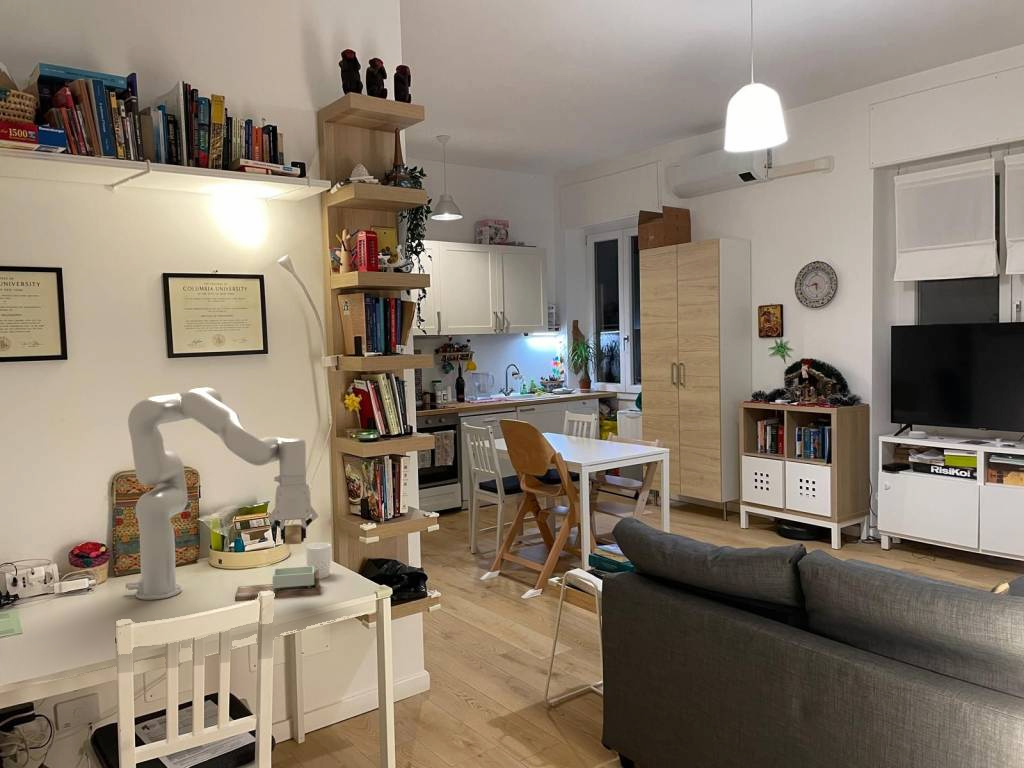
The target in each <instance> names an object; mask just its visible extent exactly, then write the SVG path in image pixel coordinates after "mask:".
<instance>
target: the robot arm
mask: <svg viewBox="0 0 1024 768" xmlns="http://www.w3.org/2000/svg"><path fill="white" fill-rule="evenodd" d="M189 419H190V420H191V419H193V420H194V421H195V422H197V423H199V424H200V425H202V426H203V427H205V428H207V429H208V430H210V431H211V432H212V433H214V434H215V435H217V436H218V437H219V438H220V439H221V442H222V443H223V444H224V446H225V447H226V448H228V450H229V451H230V452H231V453H233V454H234V455H236V456H238V457H239V458H241V460H244V461H245V462H247V463H248V464H251V465H253V466H257V467H261V466H262V467H263V466H266V465H267V464H269V463H275V462H278V461H279V463H278V465H279V475H278V476H274V482H277V483H279V484H278V485H276V489H275V497H274V498H275V499H274V509H273V510H272V512H271V513H270V514H269V515H268V517H267V519H268V521H270V522H271V523H273V524H274V525H275V526H276V527H277V528H279V530H280V540H282V543H283V544H285V526H286V524H285V523H286V521H291V520H293V521H295V520H300V524H301V523H302V527H301V543H304V540H305V539H307V527H308V526H309V525H310V524H311V523H312V522H313V521H315V520H316V519H318V517H319V514H318V513H317V512H316V510H315V509H314V508H313V507H312V501H311V493H310V490H311V489H310V486H309V483H307V458H306V457H307V456H306V455H307V454H306V453H307V447H306V446H307V444H306V440H304V439H303V438H300V437H290V438H289V437H288V438H282V437H278V436H266V437H262V438H257V437H255V436H254V435H253V434H251V433H250V432H248V431H247V430H246V429H244V428H243V427H242V425H241V424H240V422H239V414H238V412H237V411H235V410H233V409H232V408H230V407H229V406H228V405H226V404H224V403H223V398H222V396H221V394H220V393H219V392H218V391H217V390H216V389H214V388H211V387H200V388H199V387H198V388H192V389H189V390H187V391H183V392H177V393H171V394H161V395H159V394H158V395H153V396H150V397H146V398H144V399H141V400H140V401H138V402H136V403H135V405H134V406H133V407H132V408H131V410H130V412H129V414H128V417H127V425H128V431H129V435H130V440H131V445H132V446H131V448H132V456H133V464H134V472H135V476H136V478H137V481H138V482H139V483H140V484H141V485H142V486H144V487H145V486H147V487H151V486H155V487H156V488H155V489H152V490H150V491H147V492H145V493H143V494H142V495H141V496H140V497H139V498H138V500H137V502H136V504H135V515H136V519H137V523H138V524H137V525H138V529H139V551H140V552H139V553H140V555H139V556H140V579H139V580H137V581H127V582H125V589H126V590H127V589H128V591H130V590H131V591H132V590H136V592H135V597H136V598H137V599H140V600H145V601H147V600H148V601H153V600H162V599H167V598H171V597H174V596H177V595H179V594H180V593H181V592H182V586H181V585H180V584H177V581H176V580H177V579H176V578H177V577H176V575H177V574H176V540H175V538H176V537H175V530H174V529H175V528H174V526H173V523H172V521H171V517H173V516H174V517H175V515H178V514H179V513H181V512H182V511H184V510H185V508H186V506H187V505H188V501H189V499H188V497H189V496H188V494H189V493H188V487H187V479H186V471H185V466H184V463H183V460H182V459H181V457H180V456H179V455H178V454H177V453H176V452H175V451H171V450H168V449H167V450H165V447H164V439H163V435H162V434H161V431H160V430H159V428H158V426H159V425H162V424H168V423H173V422H179V421H183V420H184V421H185V420H189Z"/></svg>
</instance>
